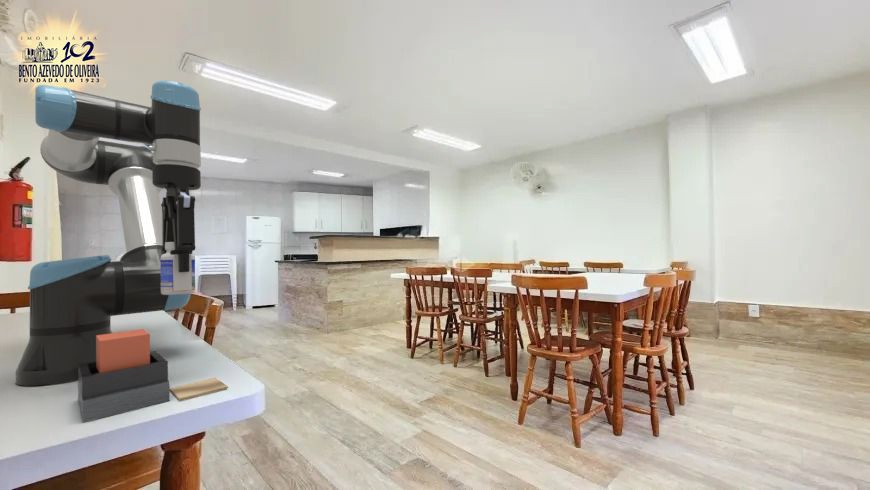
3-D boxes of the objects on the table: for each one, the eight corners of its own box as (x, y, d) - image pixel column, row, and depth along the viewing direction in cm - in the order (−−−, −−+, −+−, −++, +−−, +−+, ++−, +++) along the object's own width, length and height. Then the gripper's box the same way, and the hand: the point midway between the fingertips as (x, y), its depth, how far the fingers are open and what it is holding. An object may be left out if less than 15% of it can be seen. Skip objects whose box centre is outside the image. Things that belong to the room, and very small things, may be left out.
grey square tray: (78, 400, 60) (77, 362, 60) (154, 383, 67) (154, 350, 67) (82, 422, 52) (82, 379, 52) (169, 400, 59) (169, 362, 59)
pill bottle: (178, 295, 67) (177, 241, 67) (153, 295, 68) (152, 242, 68) (202, 292, 72) (201, 242, 72) (178, 291, 73) (178, 242, 73)
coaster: (169, 390, 63) (169, 388, 63) (215, 379, 68) (215, 377, 68) (179, 401, 58) (179, 398, 58) (227, 388, 64) (227, 386, 64)
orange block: (96, 366, 59) (96, 335, 59) (143, 358, 64) (143, 329, 64) (99, 374, 55) (99, 341, 55) (149, 365, 60) (149, 333, 60)
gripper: (143, 172, 74) (144, 288, 74) (164, 154, 61) (165, 294, 61) (187, 177, 79) (188, 285, 79) (214, 161, 67) (216, 290, 66)
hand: (178, 289), depth 70 cm, fingers closed on pill bottle, 5 cm apart
